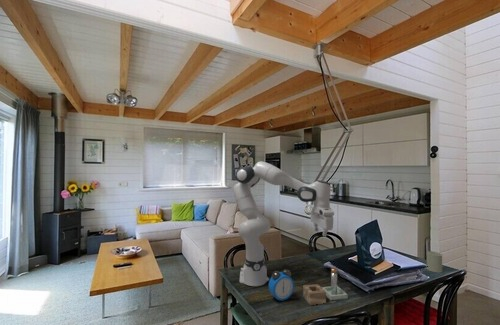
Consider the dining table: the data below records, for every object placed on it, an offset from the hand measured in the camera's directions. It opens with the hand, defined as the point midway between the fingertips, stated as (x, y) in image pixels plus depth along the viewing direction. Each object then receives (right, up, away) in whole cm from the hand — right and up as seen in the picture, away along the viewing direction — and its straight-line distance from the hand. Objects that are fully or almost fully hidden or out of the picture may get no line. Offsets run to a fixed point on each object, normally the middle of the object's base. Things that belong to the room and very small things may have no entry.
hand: (320, 233), depth 142 cm
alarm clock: (-23, -34, -6) cm, 41 cm away
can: (+90, -36, +34) cm, 103 cm away
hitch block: (-5, -34, -7) cm, 35 cm away
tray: (+7, -34, -2) cm, 35 cm away
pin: (+7, -34, -2) cm, 34 cm away
